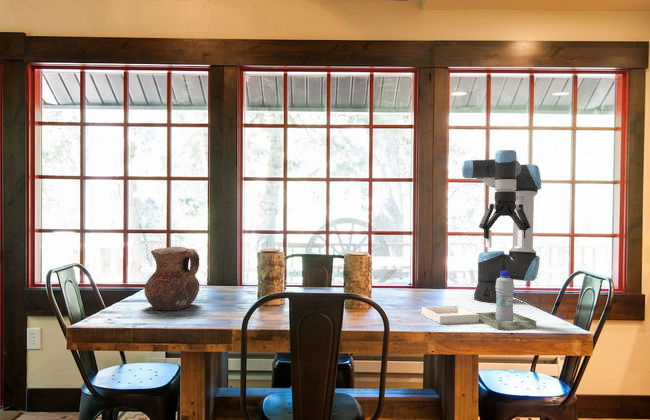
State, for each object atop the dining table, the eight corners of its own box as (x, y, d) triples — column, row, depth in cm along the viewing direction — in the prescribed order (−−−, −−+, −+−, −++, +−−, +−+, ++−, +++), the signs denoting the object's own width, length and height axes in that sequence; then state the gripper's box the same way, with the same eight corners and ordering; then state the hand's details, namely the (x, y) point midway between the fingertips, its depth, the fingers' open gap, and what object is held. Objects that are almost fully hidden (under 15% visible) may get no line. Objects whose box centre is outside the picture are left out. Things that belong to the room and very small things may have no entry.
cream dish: (457, 312, 189) (457, 305, 189) (478, 322, 173) (478, 314, 173) (421, 314, 185) (421, 307, 185) (439, 324, 170) (440, 316, 170)
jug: (139, 313, 180) (140, 250, 180) (148, 303, 201) (149, 246, 201) (197, 312, 185) (198, 250, 185) (200, 301, 205) (201, 246, 205)
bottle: (506, 326, 168) (507, 272, 168) (491, 322, 173) (491, 270, 173) (517, 324, 171) (518, 271, 171) (502, 320, 177) (503, 269, 177)
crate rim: (509, 317, 182) (510, 311, 182) (536, 327, 166) (536, 320, 166) (474, 319, 178) (474, 312, 178) (498, 329, 163) (498, 322, 163)
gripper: (527, 192, 179) (527, 246, 179) (470, 190, 173) (469, 246, 173) (540, 191, 171) (540, 248, 171) (480, 190, 166) (480, 248, 166)
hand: (504, 247), depth 172 cm, fingers open, 13 cm apart
